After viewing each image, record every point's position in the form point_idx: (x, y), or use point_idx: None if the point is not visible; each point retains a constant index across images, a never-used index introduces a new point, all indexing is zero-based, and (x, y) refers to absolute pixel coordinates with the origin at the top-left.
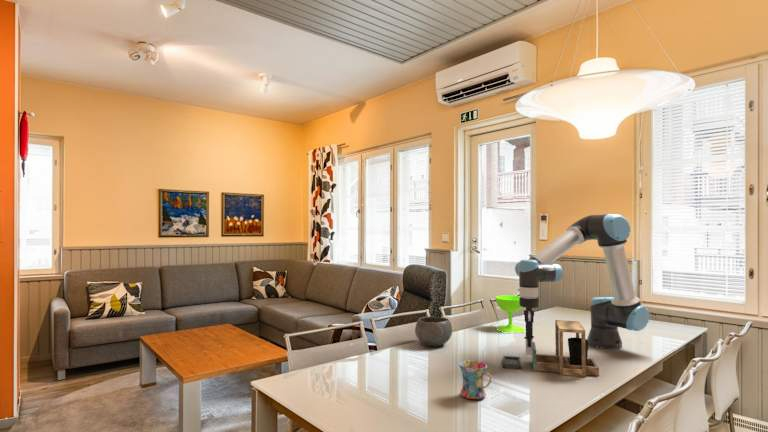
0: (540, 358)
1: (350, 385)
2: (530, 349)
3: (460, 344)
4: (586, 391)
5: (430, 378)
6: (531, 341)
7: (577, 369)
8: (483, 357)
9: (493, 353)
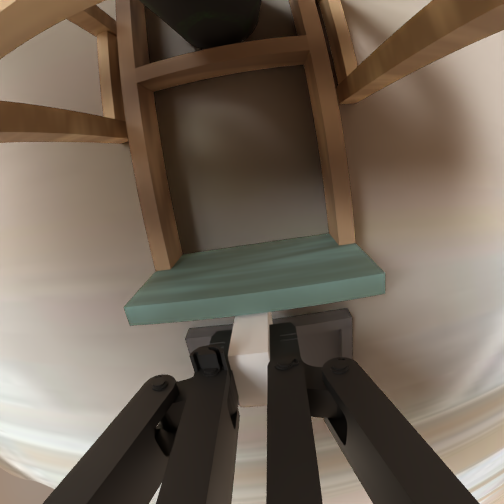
0: (169, 228)
1: (484, 501)
2: (269, 316)
3: None
4: (496, 35)
5: (466, 467)
6: (270, 346)
7: (335, 6)
8: None
9: None
